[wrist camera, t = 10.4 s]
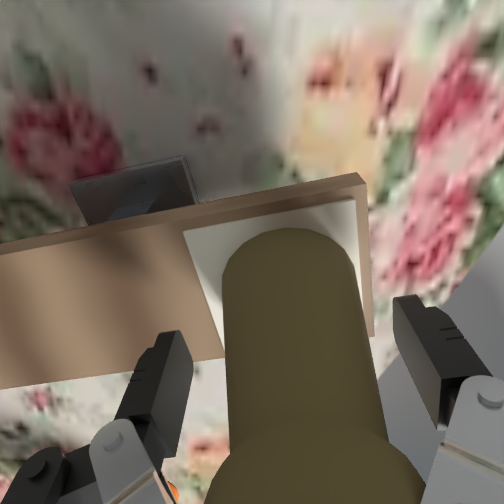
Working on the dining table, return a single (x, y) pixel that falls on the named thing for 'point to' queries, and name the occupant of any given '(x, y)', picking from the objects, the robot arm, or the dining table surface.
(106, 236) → the seesaw board
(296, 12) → the dining table surface
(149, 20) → the dining table surface
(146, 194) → the pivot stand
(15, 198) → the dining table surface
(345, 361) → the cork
